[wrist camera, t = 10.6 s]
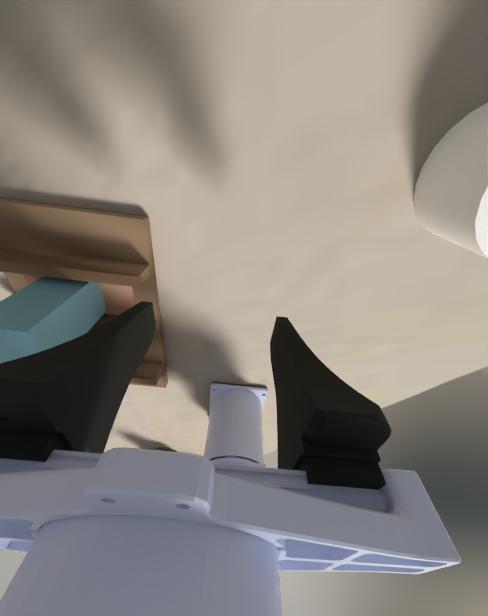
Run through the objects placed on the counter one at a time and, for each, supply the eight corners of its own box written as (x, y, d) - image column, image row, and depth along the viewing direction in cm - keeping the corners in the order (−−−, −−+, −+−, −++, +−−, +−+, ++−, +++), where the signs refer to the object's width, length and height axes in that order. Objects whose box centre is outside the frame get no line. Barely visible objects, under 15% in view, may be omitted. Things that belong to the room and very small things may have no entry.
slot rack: (167, 381, 31) (159, 404, 29) (65, 371, 31) (45, 393, 28) (148, 216, 19) (130, 228, 16) (-25, 194, 18) (-76, 202, 16)
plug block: (107, 310, 23) (49, 372, 17) (67, 306, 23) (-7, 367, 16) (97, 275, 21) (26, 332, 14) (53, 270, 21) (-39, 324, 14)
